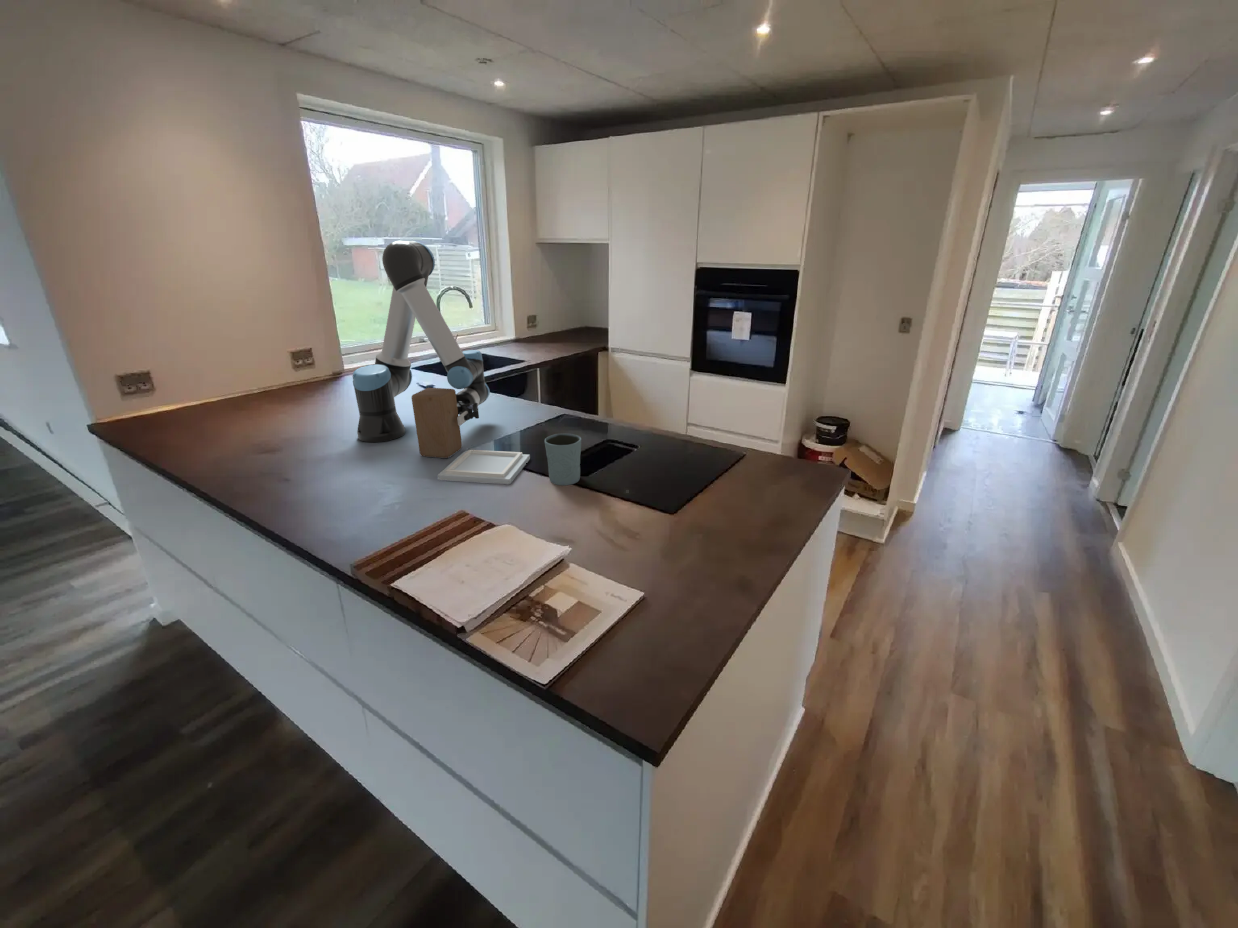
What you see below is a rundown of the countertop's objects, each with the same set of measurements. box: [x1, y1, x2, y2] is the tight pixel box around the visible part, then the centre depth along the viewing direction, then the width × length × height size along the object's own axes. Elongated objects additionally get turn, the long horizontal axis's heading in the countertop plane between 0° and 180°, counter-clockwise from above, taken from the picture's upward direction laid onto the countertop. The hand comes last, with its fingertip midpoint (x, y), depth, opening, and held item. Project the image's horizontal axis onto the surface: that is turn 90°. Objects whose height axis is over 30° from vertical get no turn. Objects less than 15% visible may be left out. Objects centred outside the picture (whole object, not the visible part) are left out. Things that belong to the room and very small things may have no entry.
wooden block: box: [411, 387, 463, 459], centre depth 169 cm, size 10×10×20 cm
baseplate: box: [437, 449, 531, 485], centre depth 159 cm, size 19×21×2 cm
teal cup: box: [544, 433, 582, 486], centre depth 151 cm, size 10×10×12 cm
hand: (437, 420), depth 168 cm, fingers open, 13 cm apart
